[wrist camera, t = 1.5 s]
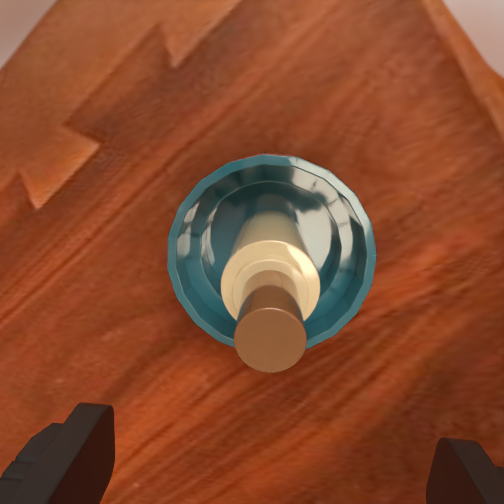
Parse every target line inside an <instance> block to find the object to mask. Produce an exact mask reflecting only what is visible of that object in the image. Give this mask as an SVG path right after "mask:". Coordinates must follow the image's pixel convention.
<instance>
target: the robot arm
mask: <svg viewBox="0 0 504 504" xmlns="http://www.w3.org/2000/svg"><path fill="white" fill-rule="evenodd" d="M114 462H115V435H114V410H113V407H112V406H111V405H103V404H93V403H79V404H78V405H77V406H76V407H75V409H74V410H73V411H72V413H71V414H70V415H69V417H68V418H67V419H66V421H65V422H64V424H60V423H52V424H51V425H49V426H48V427H46V428H45V429H43V430H42V431H41V432H39V433H38V434H36V435H35V436H34V437H32V438H31V439H30V440H29V442H28V443H27V444H26V445H25V447H24V448H23V449H22V450H21V451H20V453H19V454H18V455H17V456H16V459H15V461H12V463H11V464H10V465H9V466H8V467H7V469H6V470H5V471H4V472H3V474H2V477H1V478H0V504H99V503H100V501H101V499H102V497H103V495H104V492H105V490H106V488H107V486H108V484H109V481H110V479H111V476H112V472H113V468H114ZM426 502H427V504H504V468H503V467H496V466H495V465H494V464H493V463H492V461H491V460H490V458H489V457H488V455H487V454H486V453H485V451H484V450H483V448H482V447H481V446H480V444H479V443H478V442H476V441H473V440H463V439H452V438H441V439H440V440H439V441H438V443H437V447H436V451H435V455H434V459H433V463H432V467H431V471H430V475H429V479H428V483H427V487H426Z"/></svg>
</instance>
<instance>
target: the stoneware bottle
mask: <svg viewBox="0 0 504 504" xmlns="http://www.w3.org/2000/svg"><path fill="white" fill-rule="evenodd" d="M221 295H222V299H223V302H224V304H225V307H226V308H227V310H228V312H229V313H230V314H231V315H232V317H233V318H234V319H235V320H236V321H237V322H236V328H235V333H234V346H235V349H236V352H237V354H238V355H239V357H240V358H241V360H242V361H243V362H244V363H245V364H246V365H248V366H249V367H251V368H253V369H255V370H257V371H261V372H266V373H276V372H281V371H284V370H287V369H289V368H290V367H292V366H293V365H295V364H296V363H297V362H298V361H299V360H300V358H301V357H302V355H303V354H304V351H305V349H306V344H307V337H306V331H305V325H304V321H305V320H306V319H307V318H308V317H309V316H310V315H311V313H312V312H313V310H314V309H315V307H316V305H317V302H318V299H319V295H320V279H319V274H318V271H317V269H316V266H315V263H314V260H313V258H312V255H311V252H310V250H309V247H308V244H307V241H306V239H305V236H304V233H303V231H302V229H301V227H300V225H299V224H298V223H297V222H296V220H295V219H293V218H292V217H291V216H289V215H287V214H285V213H283V212H280V211H275V210H266V211H261V212H258V213H255V214H253V215H252V216H250V217H249V218H247V219H246V220H245V221H244V222H243V224H242V225H241V226H240V228H239V230H238V232H237V235H236V238H235V241H234V243H233V246H232V249H231V251H230V254H229V257H228V260H227V262H226V265H225V268H224V271H223V274H222V278H221Z"/></svg>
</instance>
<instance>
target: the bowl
mask: <svg viewBox="0 0 504 504" xmlns="http://www.w3.org/2000/svg"><path fill="white" fill-rule="evenodd" d="M266 210H275V211H280V212H283V213H285V214H287V215H289V216H291V217H292V218H293V219H295V220H296V222H297V223H298V224H299V225H300V227H301V229H302V231H303V233H304V236H305V239H306V241H307V244H308V247H309V250H310V252H311V255H312V258H313V260H314V263H315V266H316V269H317V271H318V274H319V279H320V295H319V299H318V302H317V305H316V307H315V309H314V310H313V312H312V313H311V315H310V316H309V317H308V318H307V319H306V320H305V321H304V325H305V331H306V337H307V344H306V349H309V348H311V347H313V346H315V345H316V344H318V343H320V342H322V341H324V340H326V339H328V338H330V337H332V336H334V335H335V334H336V333H337V332H338V331H339V330H340V329H341V328H343V327H344V326H345V325H346V324H347V323H348V322H349V321H350V320H351V319H352V318H353V317H354V316H355V315H356V314H357V313H358V311H359V309H360V307H361V305H362V303H363V301H364V300H365V298H366V296H367V294H368V292H369V290H370V288H371V286H372V281H373V275H374V269H375V264H376V258H377V252H376V246H375V240H374V234H373V228H372V224H371V221H370V219H369V217H368V215H367V214H366V212H365V210H364V208H363V206H362V204H361V203H360V201H359V199H358V197H357V195H356V194H355V193H354V192H353V191H352V190H351V189H350V188H349V187H348V186H347V185H345V184H344V183H343V182H342V181H341V180H340V179H339V178H338V177H337V176H335V175H334V174H333V173H332V172H331V171H329V170H328V169H325V168H323V167H321V166H319V165H317V164H314V163H312V162H310V161H307V160H305V159H303V158H300V157H298V156H296V155H292V154H279V153H266V152H264V153H259V154H255V155H251V156H247V157H243V158H239V159H235V160H233V161H231V162H229V163H227V164H225V165H224V166H222V167H221V168H219V169H217V170H216V171H214V172H213V173H211V174H210V175H208V176H206V177H205V178H203V179H202V180H200V181H199V182H198V183H197V185H196V186H195V187H194V188H193V190H192V191H191V192H190V193H189V195H188V196H187V197H186V198H185V200H184V201H183V202H182V203H181V205H180V206H179V208H178V210H177V213H176V216H175V218H174V221H173V224H172V227H171V230H170V232H169V235H168V255H167V268H168V269H167V270H168V273H169V276H170V279H171V282H172V285H173V289H174V292H175V295H176V298H177V299H178V301H179V302H180V303H181V305H182V306H183V308H184V309H185V310H186V312H187V313H188V315H189V316H190V318H191V319H192V320H193V322H195V324H196V325H198V326H199V327H200V328H201V329H203V330H204V331H205V332H207V333H208V334H209V335H211V336H212V337H213V338H214V339H216V340H217V341H219V342H221V343H224V344H226V345H229V346H232V347H234V348H235V346H234V333H235V328H236V322H237V321H236V320H235V319H234V318H233V317H232V315H231V314H230V313H229V312H228V310H227V308H226V307H225V304H224V302H223V299H222V295H221V278H222V274H223V271H224V268H225V265H226V262H227V260H228V257H229V254H230V251H231V249H232V246H233V243H234V241H235V238H236V235H237V232H238V230H239V228H240V226H241V225H242V224H243V222H244V221H245V220H246V219H247V218H249V217H250V216H252V215H253V214H255V213H258V212H261V211H266ZM306 349H305V350H306Z"/></svg>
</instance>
